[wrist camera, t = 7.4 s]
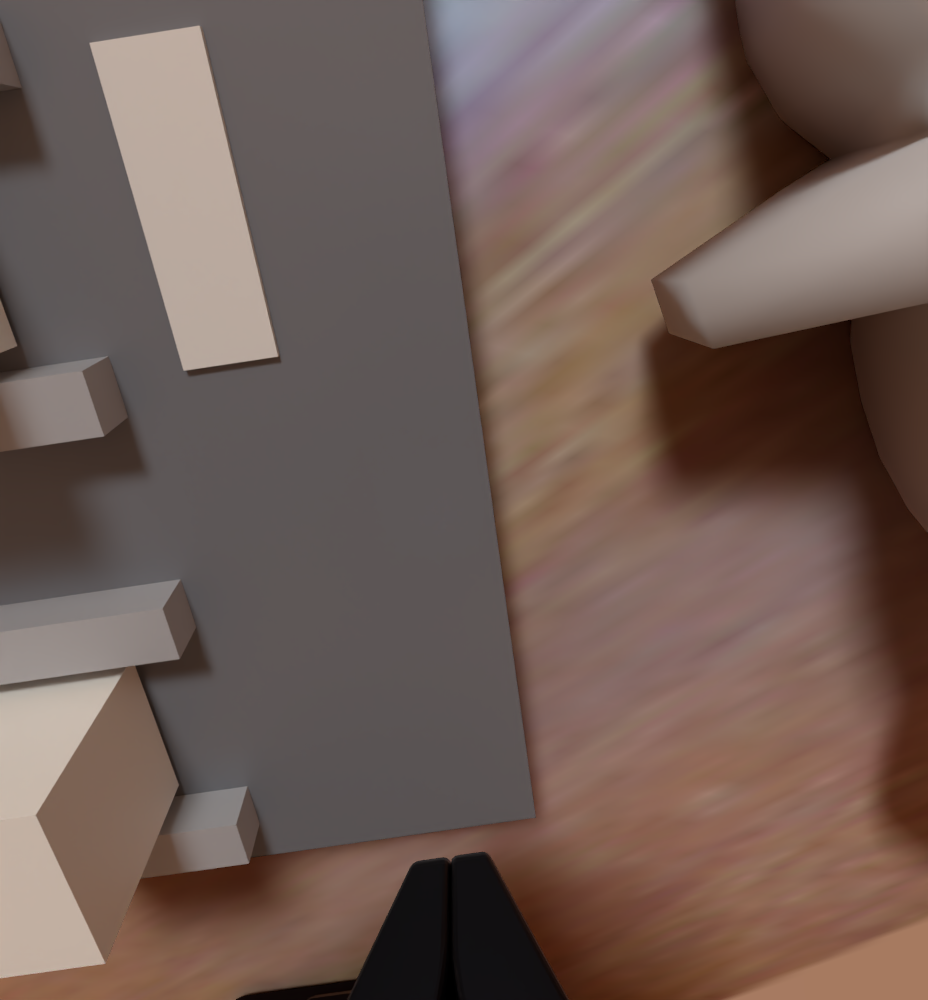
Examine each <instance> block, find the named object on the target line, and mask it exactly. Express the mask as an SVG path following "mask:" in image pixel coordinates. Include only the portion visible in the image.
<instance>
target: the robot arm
mask: <svg viewBox="0 0 928 1000" xmlns="http://www.w3.org/2000/svg"><path fill="white" fill-rule="evenodd" d="M236 1000H569V999H568V997H567V995H566V993H565V992H564V990H563V988H562V986H561V984H560V982H559V981H558V979H557V977H556V975H555V973H554V972H553V970H552V968H551V966H550V964H549V962H548V961H547V959H546V957H545V955H544V953H543V951H542V950H541V948H540V946H539V944H538V942H537V940H536V939H535V937H534V935H533V933H532V931H531V930H530V928H529V926H528V924H527V922H526V920H525V919H524V917H523V915H522V913H521V911H520V909H519V908H518V906H517V904H516V902H515V900H514V898H513V897H512V895H511V893H510V891H509V889H508V887H507V886H506V884H505V882H504V880H503V878H502V877H501V875H500V873H499V871H498V869H497V867H496V866H495V864H494V862H493V860H492V858H491V857H490V856H489V855H488V854H487V853H485V852H479V853H471V854H464V855H458V856H455V857H454V858H453V859H452V861H451V862H450V860H449V859H447V858H444V857H443V858H436V859H429V860H422V861H417V862H415V863H414V864H412V866H411V867H410V869H409V871H408V873H407V875H406V877H405V879H404V881H403V883H402V885H401V888H400V890H399V892H398V894H397V896H396V898H395V900H394V902H393V904H392V906H391V909H390V911H389V913H388V915H387V917H386V919H385V921H384V923H383V925H382V927H381V930H380V932H379V934H378V936H377V938H376V940H375V942H374V944H373V946H372V948H371V950H370V953H369V955H368V957H367V959H366V961H365V963H364V965H363V967H362V969H361V971H360V974H359V976H358V978H357V980H356V981H350V982H343V983H336V984H329V985H321V986H314V987H307V988H299V989H292V990H285V991H278V992H270V993H263V994H256V995H249V996H244V997H240V998H238V999H236Z"/></svg>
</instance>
